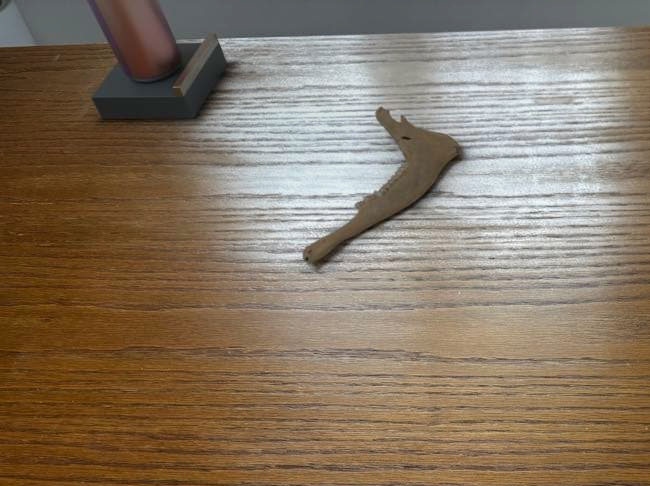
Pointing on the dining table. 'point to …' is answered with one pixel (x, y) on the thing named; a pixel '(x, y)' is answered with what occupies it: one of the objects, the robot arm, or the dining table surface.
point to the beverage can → (139, 37)
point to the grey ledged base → (164, 86)
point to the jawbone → (394, 180)
